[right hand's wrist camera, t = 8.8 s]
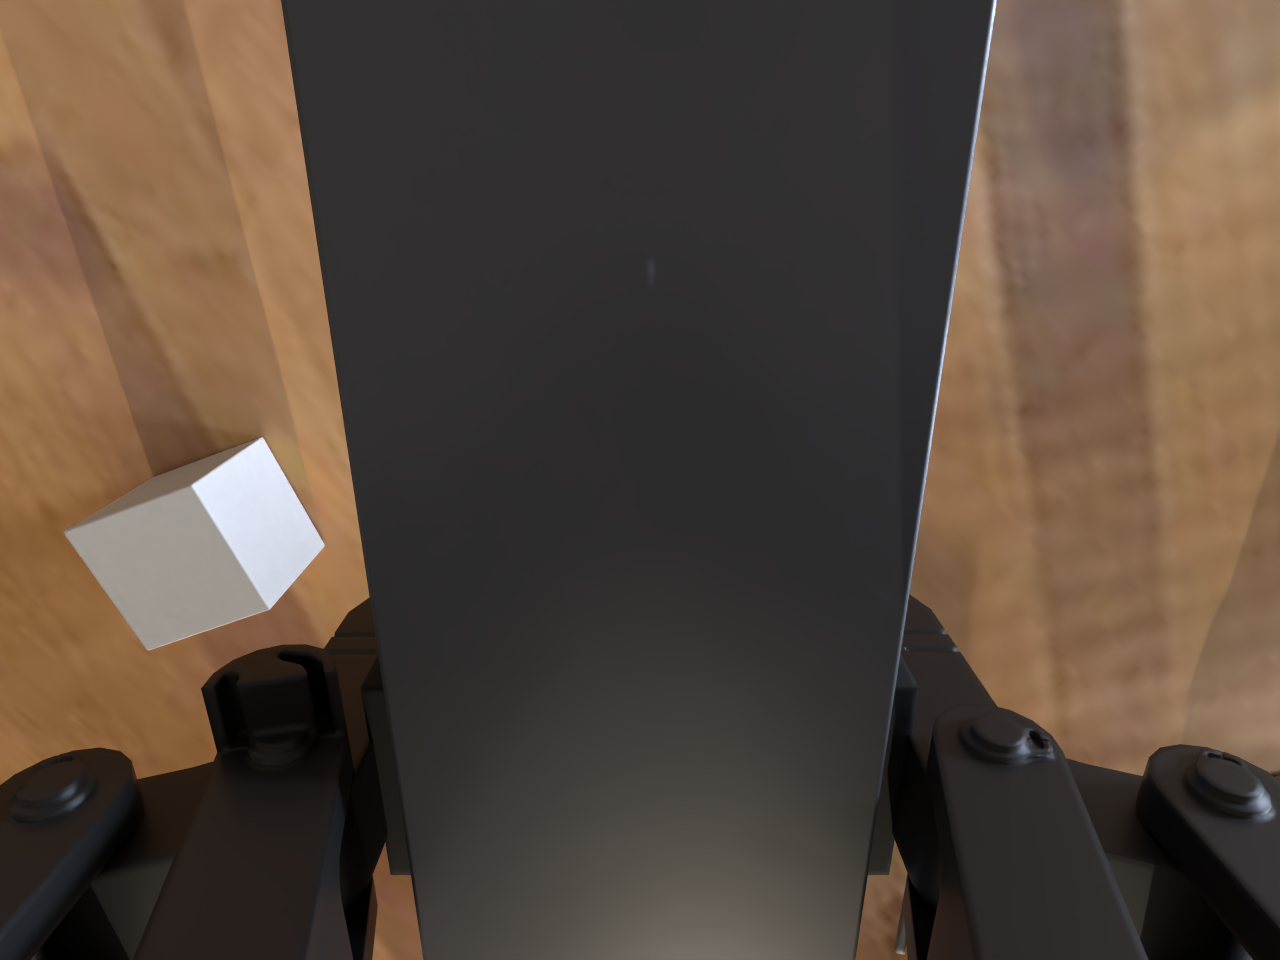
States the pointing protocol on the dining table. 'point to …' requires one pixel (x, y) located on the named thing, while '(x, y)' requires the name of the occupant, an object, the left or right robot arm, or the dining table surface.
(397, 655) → the bar
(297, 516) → the pale grey block
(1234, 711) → the dining table surface
